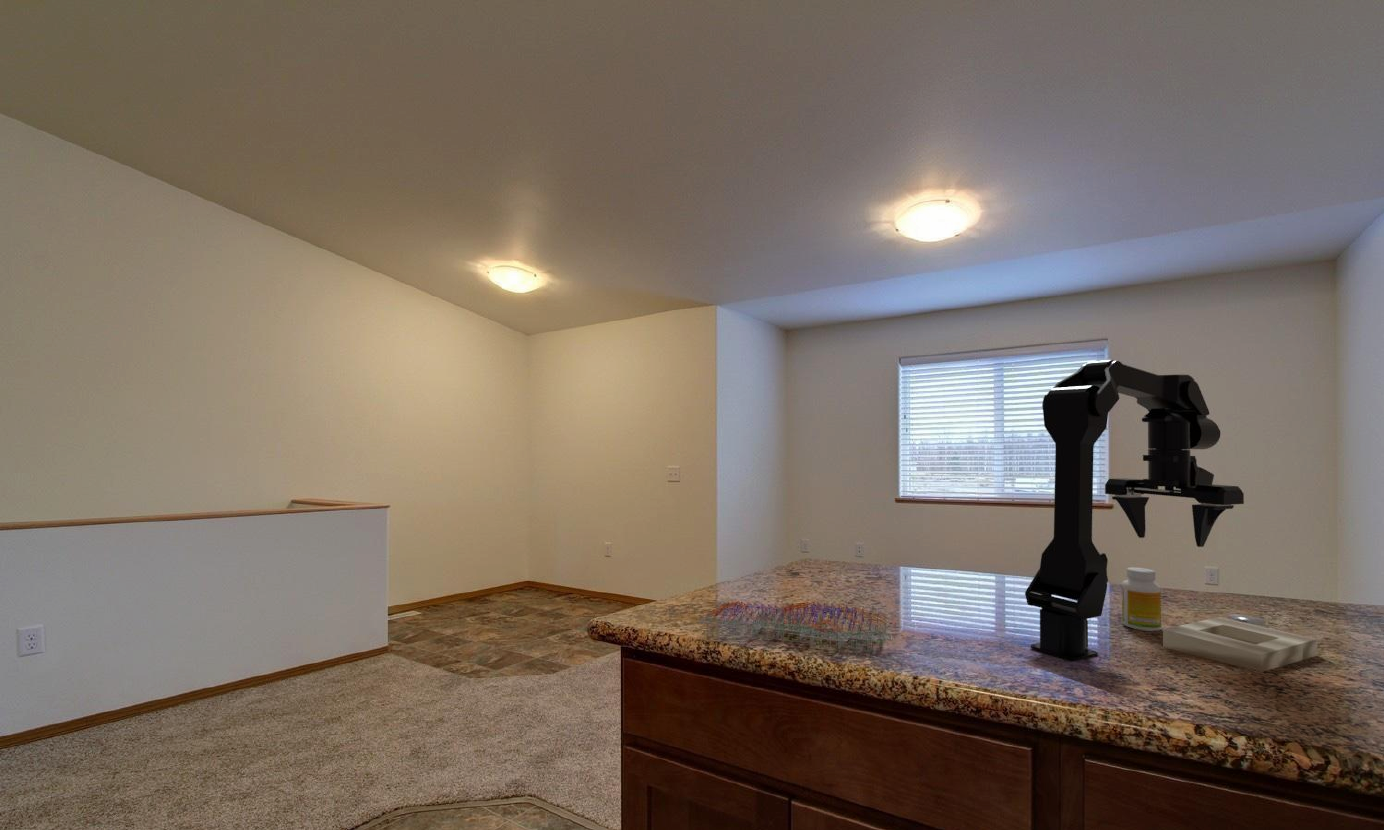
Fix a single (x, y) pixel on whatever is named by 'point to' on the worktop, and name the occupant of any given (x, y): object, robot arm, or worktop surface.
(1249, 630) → the bored board
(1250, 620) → the short steel stub
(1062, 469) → the robot arm
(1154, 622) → the supplement bottle
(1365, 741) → the worktop surface
